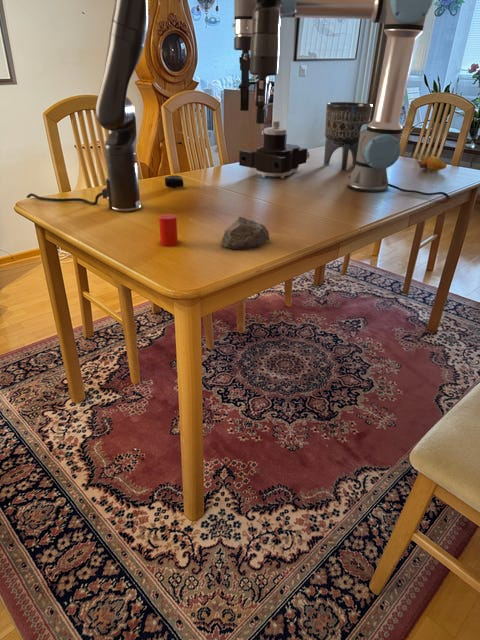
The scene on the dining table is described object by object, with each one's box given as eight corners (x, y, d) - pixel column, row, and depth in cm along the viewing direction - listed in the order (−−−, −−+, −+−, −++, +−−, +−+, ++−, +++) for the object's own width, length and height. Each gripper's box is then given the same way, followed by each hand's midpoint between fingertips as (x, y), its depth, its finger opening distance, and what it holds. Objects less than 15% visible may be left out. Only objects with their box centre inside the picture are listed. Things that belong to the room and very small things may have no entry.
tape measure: (165, 189, 168) (164, 179, 167) (165, 185, 174) (164, 175, 172) (183, 189, 169) (183, 179, 168) (183, 184, 175) (182, 174, 173)
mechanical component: (240, 120, 182) (283, 115, 202) (239, 174, 192) (280, 164, 212) (283, 126, 170) (325, 120, 190) (280, 183, 180) (320, 171, 200)
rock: (255, 233, 128) (256, 211, 124) (276, 242, 122) (278, 219, 119) (217, 244, 120) (217, 220, 117) (239, 254, 115) (239, 230, 111)
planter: (313, 167, 208) (319, 103, 195) (331, 160, 222) (338, 101, 209) (353, 173, 199) (362, 107, 185) (369, 166, 213) (379, 104, 199)
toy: (420, 164, 201) (414, 157, 214) (422, 178, 204) (416, 170, 217) (447, 156, 198) (439, 149, 211) (449, 170, 201) (441, 162, 213)
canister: (158, 245, 120) (156, 218, 116) (164, 239, 124) (162, 213, 120) (174, 246, 119) (173, 219, 115) (180, 241, 123) (178, 214, 119)
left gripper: (252, 54, 125) (250, 118, 133) (247, 53, 112) (245, 124, 121) (279, 55, 124) (275, 119, 132) (277, 54, 112) (273, 125, 120)
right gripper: (234, 37, 156) (234, 105, 167) (233, 34, 135) (232, 112, 145) (256, 37, 156) (254, 105, 167) (258, 34, 135) (256, 112, 145)
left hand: (261, 121), depth 126 cm, fingers open, 8 cm apart
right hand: (244, 108), depth 156 cm, fingers open, 13 cm apart
